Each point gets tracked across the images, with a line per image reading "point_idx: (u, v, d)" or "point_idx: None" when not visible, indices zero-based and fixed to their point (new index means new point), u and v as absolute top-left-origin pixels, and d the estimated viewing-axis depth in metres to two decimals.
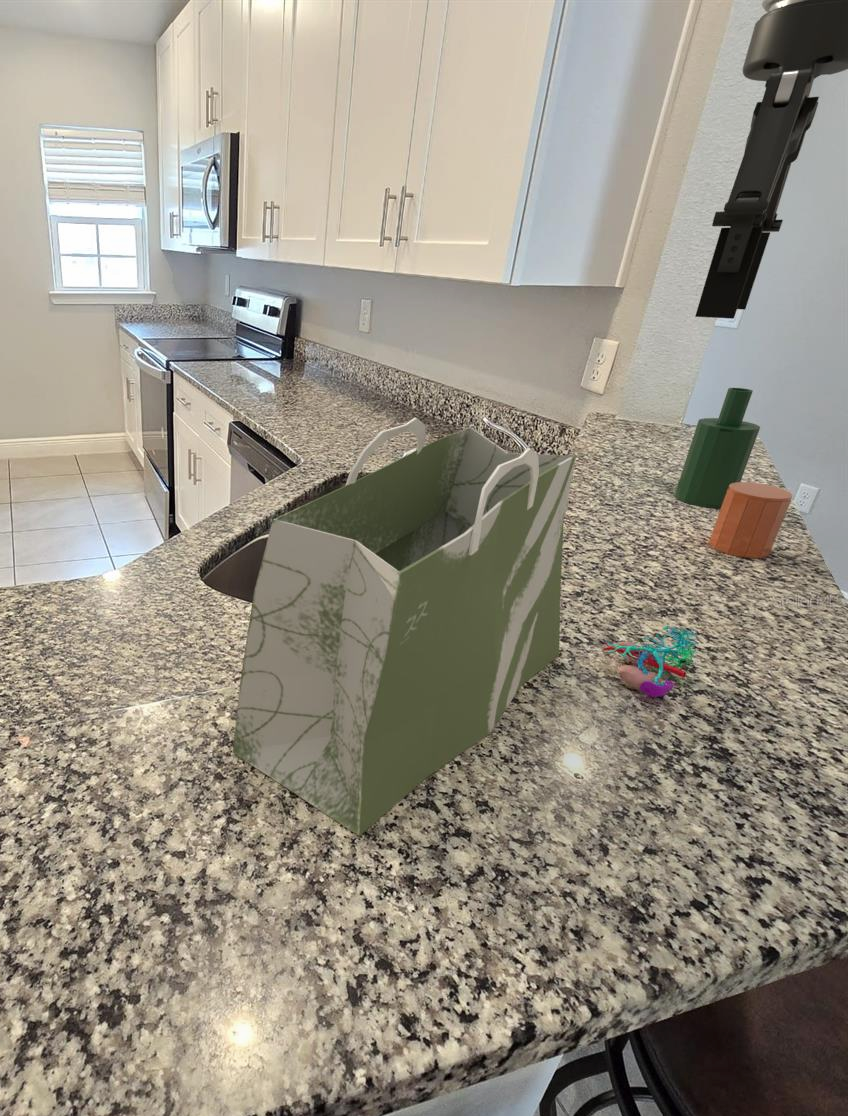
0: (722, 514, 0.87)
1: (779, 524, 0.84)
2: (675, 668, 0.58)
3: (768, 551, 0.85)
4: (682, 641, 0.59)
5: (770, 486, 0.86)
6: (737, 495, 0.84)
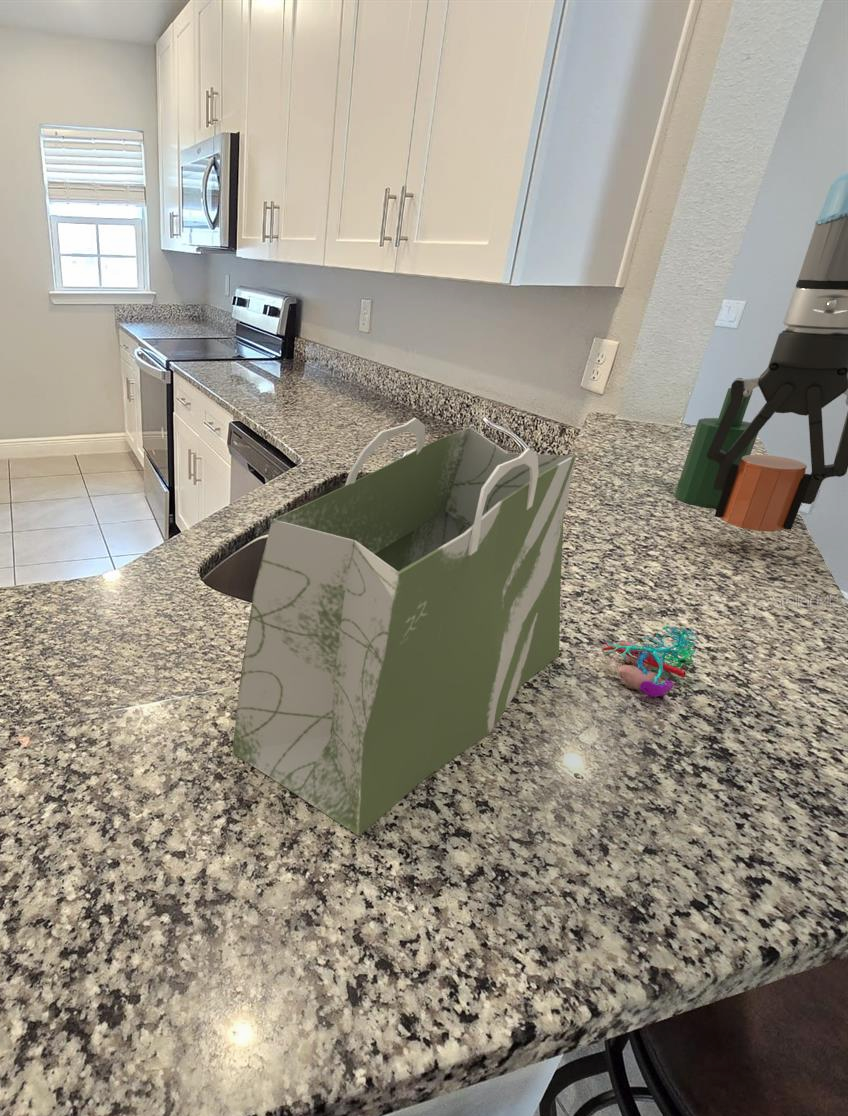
0: (734, 487, 0.85)
1: (793, 496, 0.82)
2: (675, 668, 0.58)
3: (782, 524, 0.84)
4: (682, 641, 0.59)
5: (783, 458, 0.84)
6: (750, 466, 0.82)
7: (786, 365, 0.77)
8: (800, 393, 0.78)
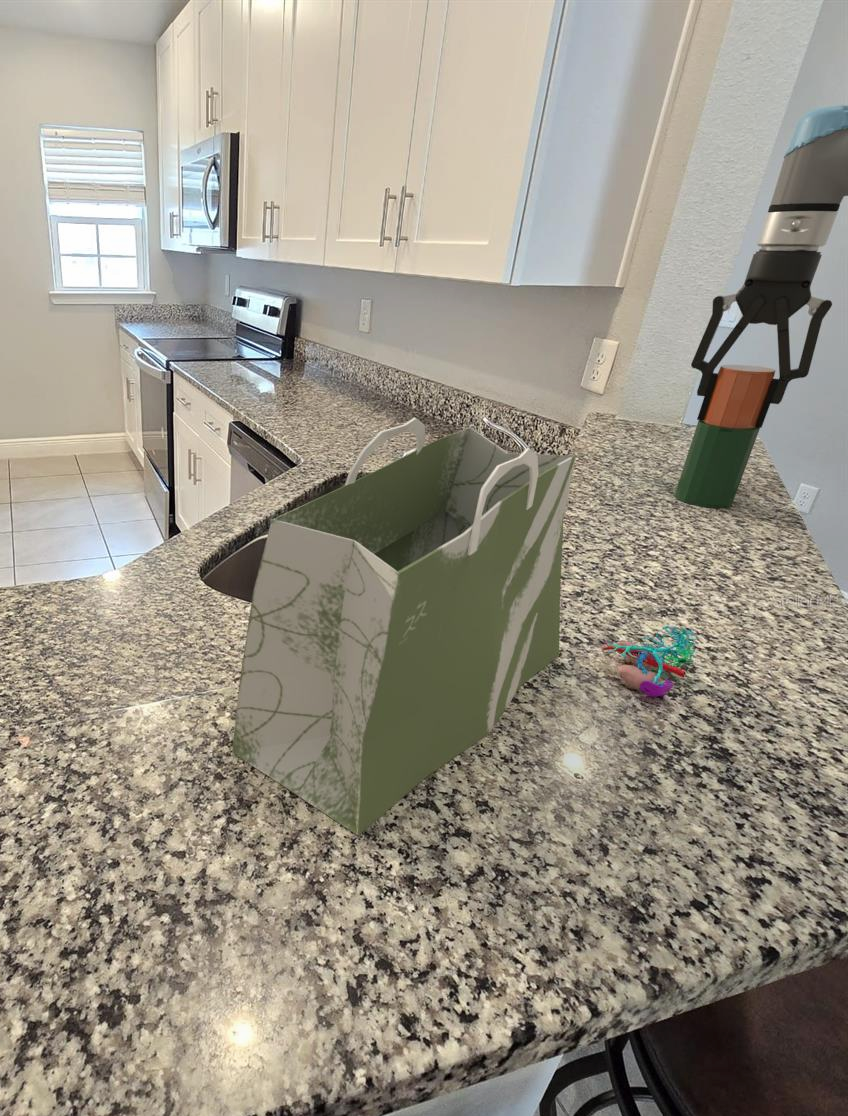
0: (714, 392, 0.99)
1: (764, 397, 0.96)
2: (674, 668, 0.58)
3: (755, 423, 0.97)
4: (681, 641, 0.59)
5: (757, 366, 0.98)
6: (727, 371, 0.96)
7: (758, 279, 0.90)
8: (770, 305, 0.92)
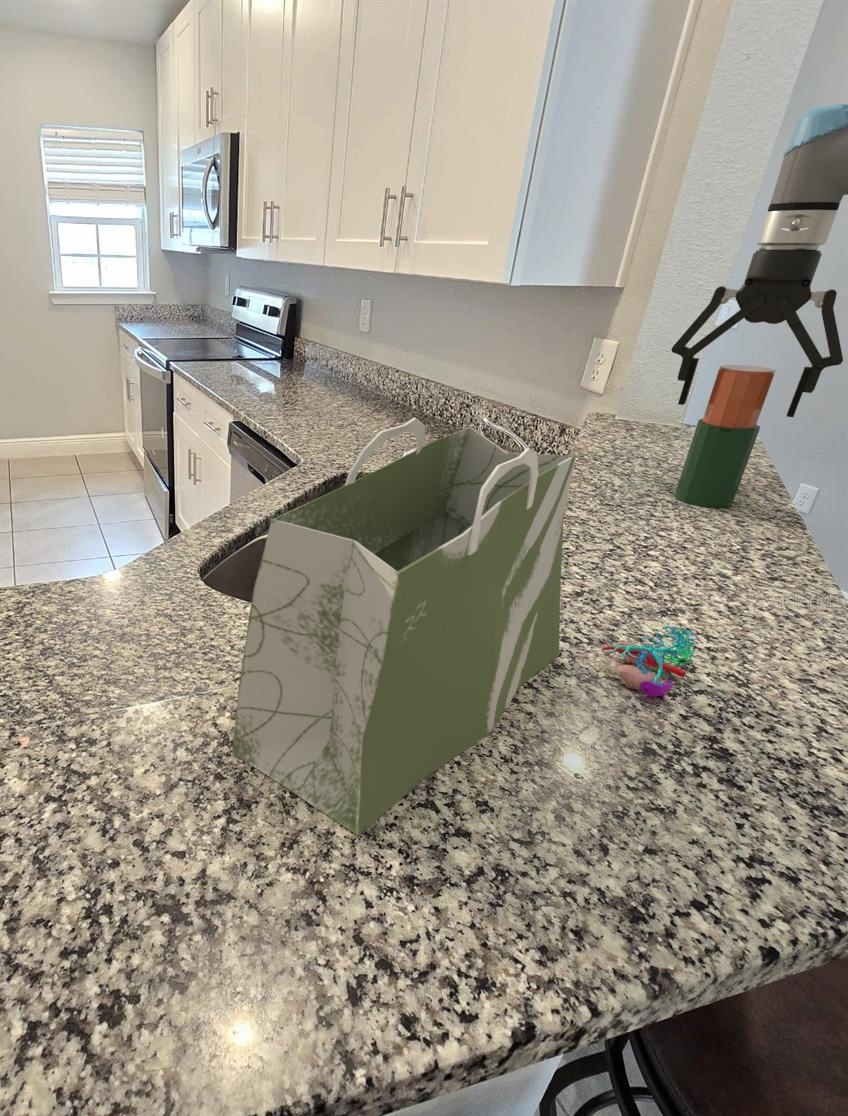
0: (714, 392, 0.99)
1: (764, 397, 0.96)
2: (674, 668, 0.58)
3: (754, 423, 0.97)
4: (681, 641, 0.59)
5: (756, 366, 0.98)
6: (727, 371, 0.96)
7: (759, 278, 0.90)
8: (770, 304, 0.92)
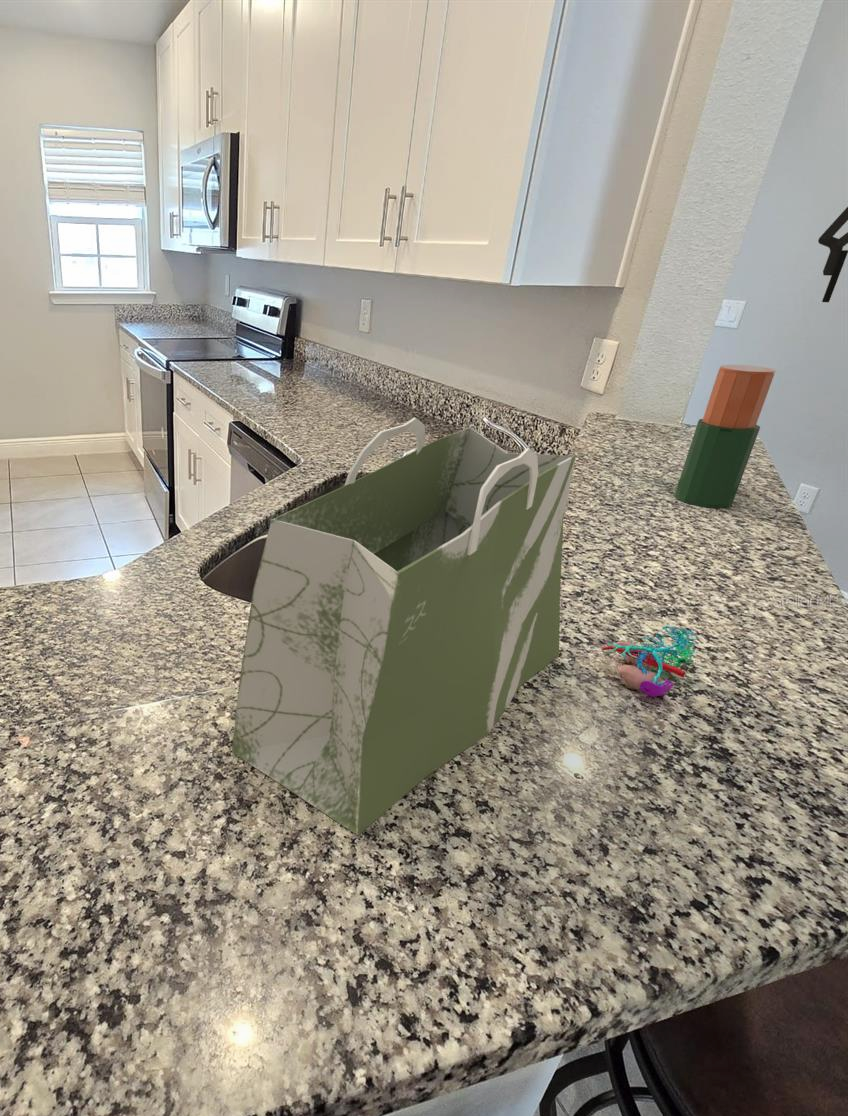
0: (714, 392, 0.99)
1: (764, 397, 0.96)
2: (674, 667, 0.58)
3: (754, 423, 0.97)
4: (681, 641, 0.59)
5: (756, 366, 0.98)
6: (727, 371, 0.96)
7: None
8: None
